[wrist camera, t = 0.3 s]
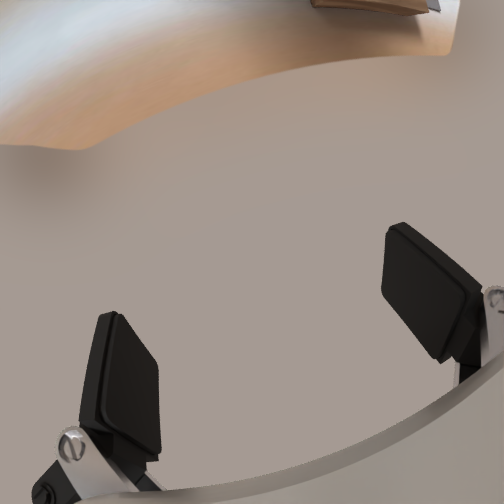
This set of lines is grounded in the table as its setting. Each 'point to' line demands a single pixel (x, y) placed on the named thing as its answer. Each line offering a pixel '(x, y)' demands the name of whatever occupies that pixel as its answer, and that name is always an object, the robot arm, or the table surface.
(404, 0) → the walnut box
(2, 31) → the table surface
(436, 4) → the rubber mat
